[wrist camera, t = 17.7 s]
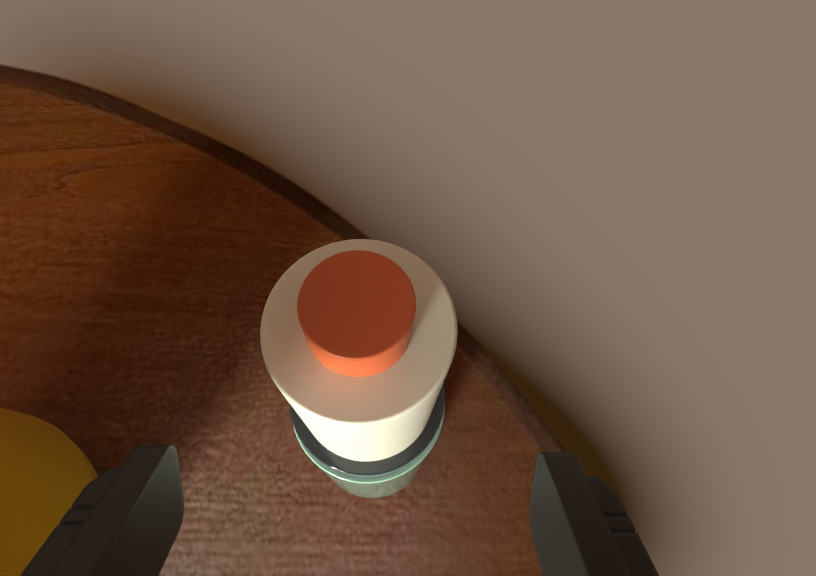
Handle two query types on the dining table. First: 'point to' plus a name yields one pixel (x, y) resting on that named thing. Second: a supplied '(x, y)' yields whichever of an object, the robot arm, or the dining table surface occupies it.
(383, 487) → the celadon jar
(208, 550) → the dining table surface
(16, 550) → the apple
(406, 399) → the cream bottle
